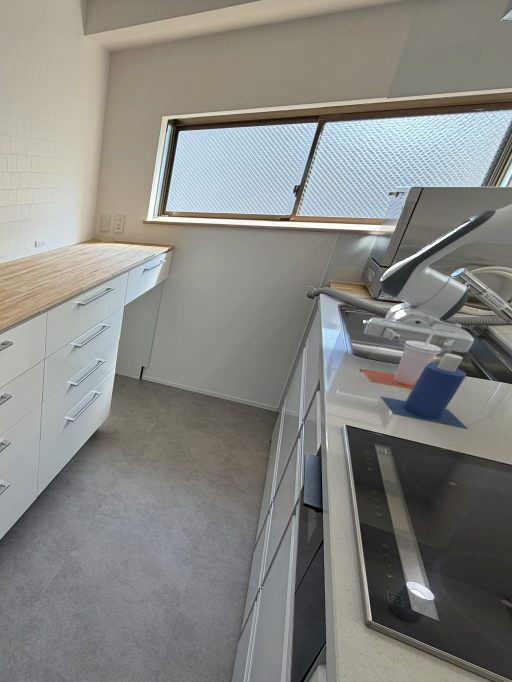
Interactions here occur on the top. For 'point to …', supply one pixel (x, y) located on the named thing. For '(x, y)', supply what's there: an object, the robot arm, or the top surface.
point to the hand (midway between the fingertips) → (420, 342)
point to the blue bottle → (435, 387)
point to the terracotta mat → (385, 378)
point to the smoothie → (415, 360)
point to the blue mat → (398, 409)
